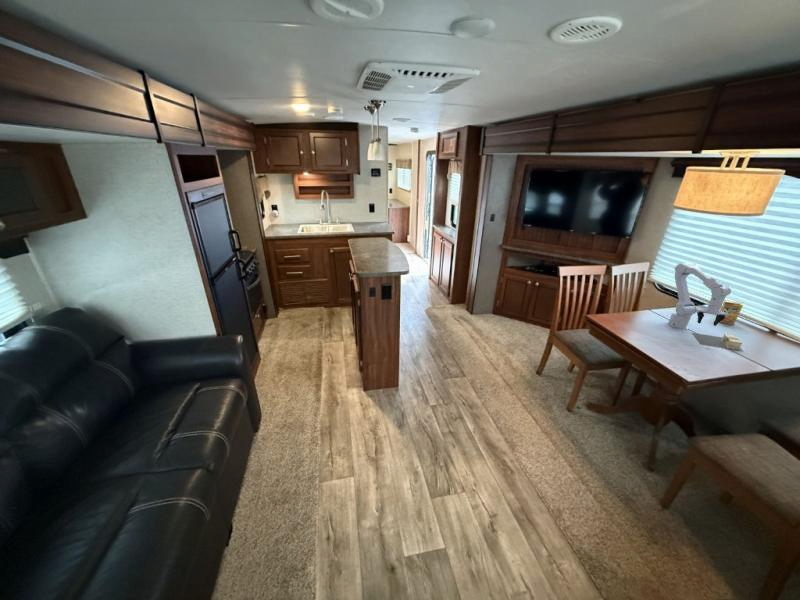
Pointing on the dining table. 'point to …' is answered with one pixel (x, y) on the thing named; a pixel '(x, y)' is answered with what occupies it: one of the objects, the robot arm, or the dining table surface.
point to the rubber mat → (712, 341)
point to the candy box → (731, 311)
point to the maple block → (731, 341)
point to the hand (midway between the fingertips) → (706, 324)
